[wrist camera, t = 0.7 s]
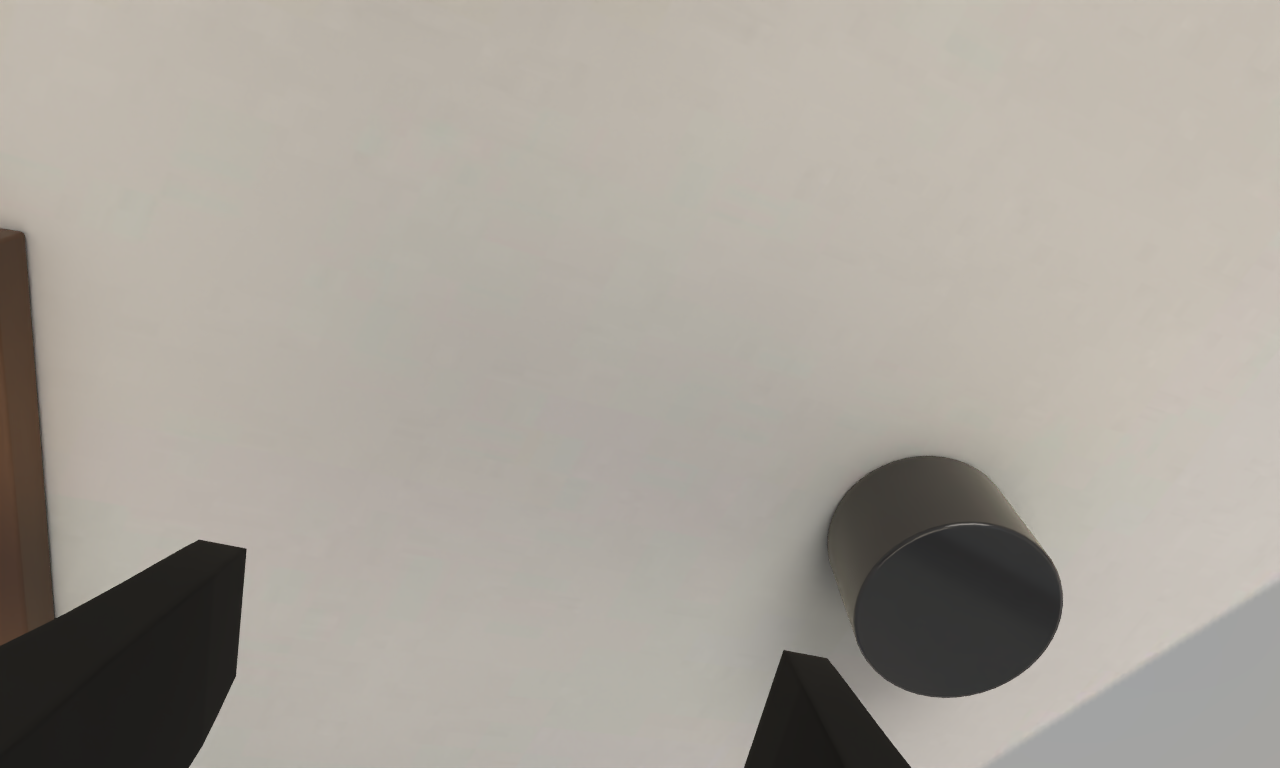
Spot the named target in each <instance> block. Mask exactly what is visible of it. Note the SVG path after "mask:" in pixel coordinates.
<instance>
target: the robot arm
mask: <svg viewBox="0 0 1280 768" xmlns="http://www.w3.org/2000/svg"><path fill="white" fill-rule="evenodd" d="M245 561H246V549H245V548H240V547H235V546H229V545H224V544H219V543H214V542H208V541H203V540H198V541H196V542H194V543H192V544H190V545H188V546H186V547H184V548H183V549H181V550H179V551H177V552H175V553H174V554H172V555H170V556H168V557H167V558H165V559H163V560H161V561H160V562H158V563H156V564H154V565H152V566H151V567H149V568H147V569H145V570H144V571H142V572H140V573H138V574H137V575H135V576H133V577H131V578H130V579H128V580H126V581H124V582H123V583H121V584H119V585H117V586H115V587H113V588H112V589H110V590H108V591H106V592H104V593H102V594H101V595H99V596H97V597H95V598H93V599H92V600H90V601H88V602H86V603H84V604H82V605H81V606H79V607H77V608H75V609H73V610H71V611H70V612H68V613H66V614H64V615H62V616H60V617H58V618H56V619H54V620H52V621H50V622H48V623H46V624H44V625H42V626H40V627H37V628H35V629H33V630H31V631H29V632H27V633H25V634H23V635H21V636H19V637H17V638H15V639H13V640H11V641H9V642H7V643H5V644H3V645H1V646H0V768H189V766H190V765H191V763H192V762H193V760H194V758H195V757H196V755H197V754H198V752H199V750H200V749H201V747H202V746H203V744H204V742H205V739H206V737H207V735H208V733H209V731H210V729H211V727H212V725H213V723H214V721H215V719H216V717H217V715H218V713H219V711H220V709H221V707H222V705H223V702H224V700H225V698H226V696H227V694H228V692H229V690H230V687H231V685H232V683H233V681H234V679H235V677H236V668H237V656H238V644H239V632H240V620H241V608H242V597H243V585H244V573H245ZM744 768H911V767H910V765H909V764H908V763H907V762H906V760H905V759H904V758H903V757H902V755H901V754H900V753H899V752H898V750H897V749H896V748H895V746H894V745H893V744H892V743H891V741H890V740H889V739H888V737H887V736H886V735H885V734H884V732H883V731H882V730H881V728H880V727H879V726H878V724H877V723H876V722H875V720H874V719H873V718H872V716H871V715H870V714H869V712H868V711H867V710H866V708H865V707H864V706H863V704H862V703H861V702H860V700H859V699H858V698H857V696H856V695H855V694H854V692H853V691H852V690H851V688H850V687H849V686H848V684H847V683H846V682H845V680H844V679H843V678H842V676H841V675H840V674H839V673H838V671H837V670H836V669H835V667H834V666H833V665H832V664H831V663H830V661H829V660H828V659H827V658H823V657H817V656H812V655H807V654H801V653H796V652H791V651H786V650H784V651H783V654H782V656H781V659H780V662H779V665H778V668H777V671H776V674H775V677H774V680H773V683H772V686H771V689H770V692H769V695H768V698H767V701H766V704H765V707H764V710H763V713H762V716H761V719H760V722H759V725H758V728H757V731H756V734H755V737H754V740H753V743H752V746H751V749H750V752H749V755H748V758H747V761H746V764H745V766H744Z"/></svg>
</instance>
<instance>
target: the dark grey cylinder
mask: <svg viewBox="0 0 1280 768" xmlns="http://www.w3.org/2000/svg"><path fill="white" fill-rule="evenodd" d="M827 549H828V557H829V561H830V564H831V568H832V571H833V574H834V577H835V580H836V582H837V585H838V588H839V591H840V594H841V597H842V600H843V603H844V606H845V609H846V612H847V615H848V618H849V621H850V624H851V627H852V629H853V632H854V635H855V638H856V641H857V644H858V646H859V648H860V651H861V653H862V654H863V656H864V657H865V659H866V661H867V662H868V663H869V664H870V666H871V667H872V668H873V669H874V670H875V671H876V672H877V673H878V674H880V675H881V676H882V677H883V678H884V679H886V680H887V681H889V682H891V683H892V684H894V685H895V686H898V687H900V688H902V689H904V690H906V691H909V692H913V693H916V694H919V695H925V696H930V697H941V698H950V697H963V696H970V695H974V694H978V693H982V692H985V691H988V690H991V689H994V688H996V687H998V686H1001V685H1003V684H1005V683H1007V682H1009V681H1010V680H1012V679H1014V678H1015V677H1017V676H1019V675H1020V674H1021V673H1022V672H1024V671H1025V670H1026V669H1028V668H1029V667H1030V666H1031V665H1032V664H1033V663H1034V662H1035V661H1036V660H1037V659H1038V658H1039V657H1040V656H1041V655H1042V653H1043V652H1044V651H1045V650H1046V648H1047V647H1048V645H1049V644H1050V642H1051V641H1052V639H1053V637H1054V635H1055V633H1056V630H1057V628H1058V625H1059V622H1060V619H1061V614H1062V607H1063V591H1062V585H1061V580H1060V577H1059V574H1058V571H1057V569H1056V567H1055V565H1054V564H1053V562H1052V560H1051V559H1050V557H1049V556H1048V555H1047V553H1046V552H1045V551H1044V549H1043V548H1042V546H1041V545H1040V544H1039V542H1038V541H1037V540H1036V538H1035V537H1034V536H1033V534H1032V533H1031V532H1030V530H1029V529H1028V528H1027V526H1026V525H1025V524H1024V522H1023V521H1022V520H1021V518H1020V517H1019V516H1018V514H1017V513H1016V512H1015V510H1014V509H1013V508H1012V506H1011V505H1010V504H1009V502H1008V501H1007V500H1006V498H1005V497H1004V496H1003V494H1002V493H1001V492H1000V490H999V489H998V488H997V486H996V485H995V484H994V483H993V482H992V481H991V480H990V479H989V478H988V477H987V476H986V475H985V474H983V473H982V472H980V471H979V470H978V469H976V468H974V467H972V466H970V465H968V464H966V463H963V462H960V461H958V460H954V459H950V458H945V457H936V456H918V457H911V458H905V459H902V460H898V461H894V462H892V463H889V464H887V465H884V466H882V467H880V468H878V469H876V470H874V471H872V472H871V473H869V474H868V475H867V476H865V477H864V478H862V479H861V480H860V481H859V482H858V483H856V484H855V485H854V486H853V487H852V488H851V489H850V490H849V492H848V493H847V494H846V495H845V496H844V498H843V499H842V501H841V502H840V504H839V505H838V507H837V509H836V511H835V513H834V515H833V518H832V521H831V523H830V527H829V532H828V541H827Z"/></svg>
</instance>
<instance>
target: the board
mask: <svg viewBox="0 0 1280 768" xmlns="http://www.w3.org/2000/svg"><path fill="white" fill-rule="evenodd" d="M52 620H54V606H53V593H52V580H51V567H50V554H49V541H48V528H47V516H46V503H45V490H44V477H43V464H42V451H41V438H40V425H39V412H38V400H37V387H36V374H35V361H34V348H33V335H32V322H31V309H30V296H29V284H28V271H27V258H26V245H25V235H24V233H22V232H20V231H13V230H7V229H0V646H1V645H3V644H5V643H7V642H9V641H11V640H13V639H15V638H17V637H19V636H21V635H23V634H25V633H27V632H29V631H31V630H33V629H35V628H37V627H40V626H42V625H44V624H46V623H48V622H50V621H52Z"/></svg>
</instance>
